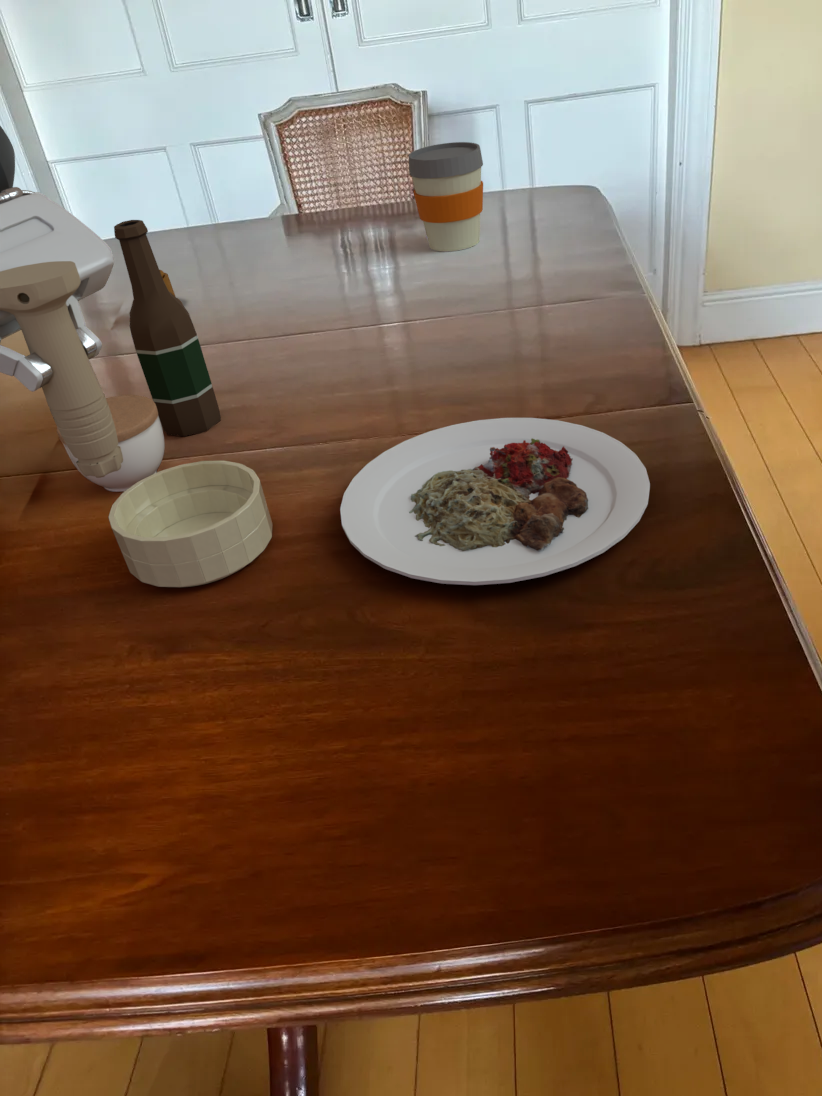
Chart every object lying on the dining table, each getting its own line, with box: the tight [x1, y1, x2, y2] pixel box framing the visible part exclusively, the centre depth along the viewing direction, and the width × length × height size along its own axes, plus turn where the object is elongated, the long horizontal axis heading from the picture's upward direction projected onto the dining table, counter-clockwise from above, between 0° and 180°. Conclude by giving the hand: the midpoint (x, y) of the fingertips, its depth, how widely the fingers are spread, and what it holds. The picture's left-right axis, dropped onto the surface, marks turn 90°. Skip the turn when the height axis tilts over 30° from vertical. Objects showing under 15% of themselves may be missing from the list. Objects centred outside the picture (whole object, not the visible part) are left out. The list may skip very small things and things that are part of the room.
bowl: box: [107, 460, 274, 588], centre depth 86 cm, size 14×14×6 cm
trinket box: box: [56, 394, 166, 493], centre depth 99 cm, size 11×11×9 cm
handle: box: [0, 261, 123, 478], centre depth 65 cm, size 5×6×15 cm
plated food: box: [339, 417, 651, 586], centre depth 87 cm, size 30×30×3 cm
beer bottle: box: [113, 219, 222, 437], centre depth 105 cm, size 8×8×24 cm
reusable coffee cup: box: [408, 141, 484, 252], centre depth 154 cm, size 13×13×15 cm
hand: (69, 368), depth 64 cm, fingers closed on handle, 3 cm apart
